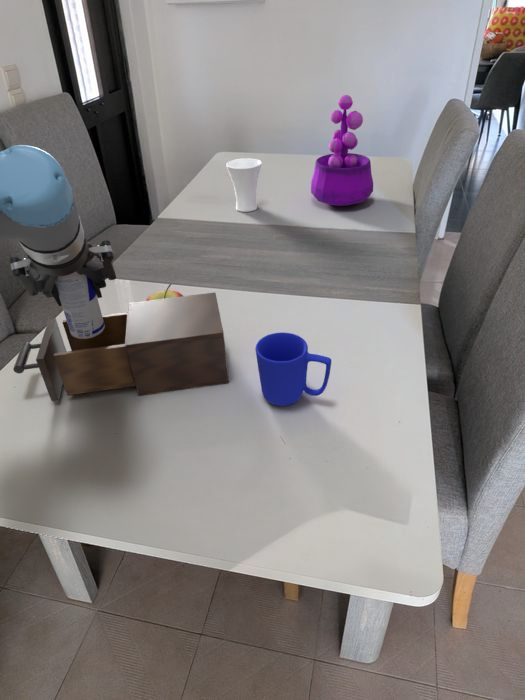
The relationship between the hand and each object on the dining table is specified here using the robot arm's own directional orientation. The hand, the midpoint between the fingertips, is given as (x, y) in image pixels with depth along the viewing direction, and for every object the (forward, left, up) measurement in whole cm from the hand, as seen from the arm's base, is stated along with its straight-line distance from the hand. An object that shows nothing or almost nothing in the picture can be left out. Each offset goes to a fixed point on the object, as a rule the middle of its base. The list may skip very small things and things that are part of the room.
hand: (79, 294), depth 87 cm
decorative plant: (+67, +69, -15) cm, 98 cm away
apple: (+13, +9, -15) cm, 22 cm away
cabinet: (+15, -4, -15) cm, 22 cm away
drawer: (-2, -4, -14) cm, 15 cm away
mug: (+33, -17, -15) cm, 40 cm away
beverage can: (+1, -4, -6) cm, 7 cm away
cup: (+38, +72, -15) cm, 83 cm away
